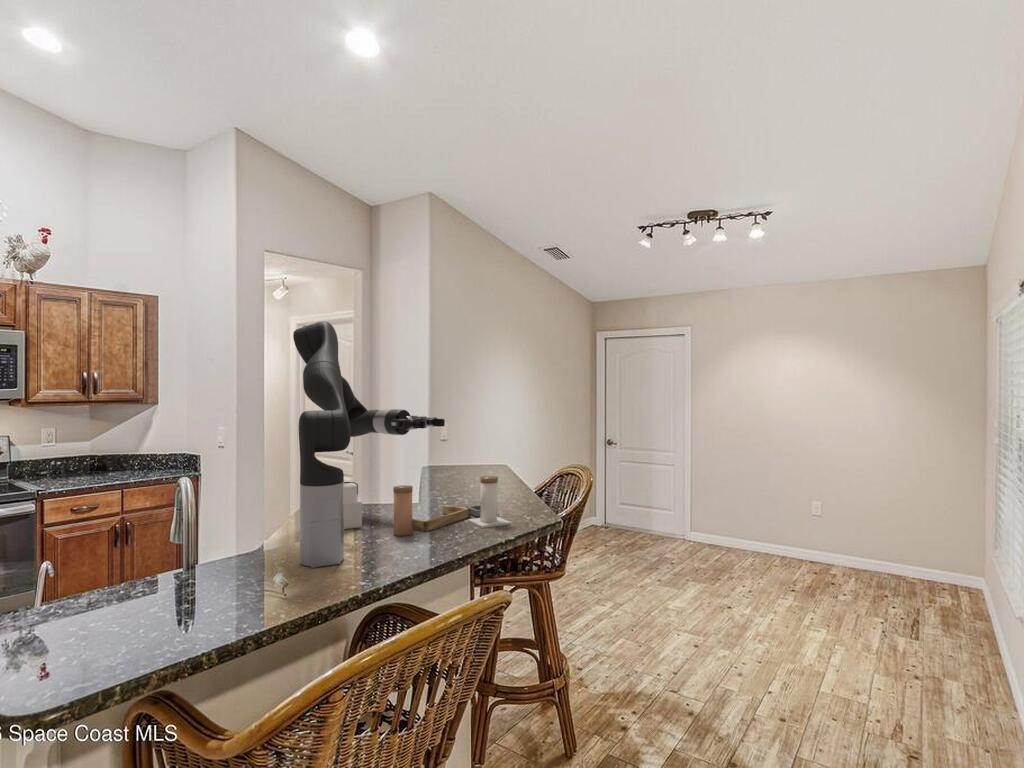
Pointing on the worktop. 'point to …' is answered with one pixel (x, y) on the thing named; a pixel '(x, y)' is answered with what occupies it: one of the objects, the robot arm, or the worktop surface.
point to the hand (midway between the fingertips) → (434, 423)
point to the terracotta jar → (402, 510)
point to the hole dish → (474, 510)
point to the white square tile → (483, 524)
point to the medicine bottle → (352, 506)
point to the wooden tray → (442, 518)
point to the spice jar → (488, 499)
